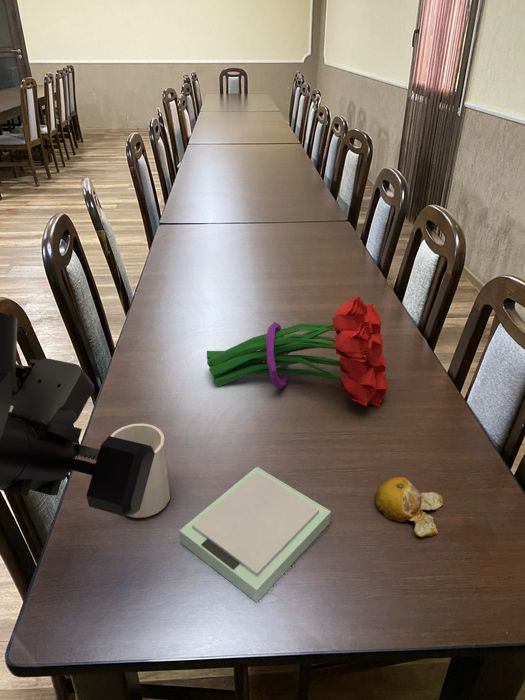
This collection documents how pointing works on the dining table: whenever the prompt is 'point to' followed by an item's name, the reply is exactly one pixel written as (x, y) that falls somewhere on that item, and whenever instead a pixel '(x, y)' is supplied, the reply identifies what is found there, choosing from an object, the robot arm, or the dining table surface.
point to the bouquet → (350, 342)
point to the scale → (255, 531)
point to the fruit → (408, 504)
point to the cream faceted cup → (159, 476)
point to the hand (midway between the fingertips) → (97, 462)
